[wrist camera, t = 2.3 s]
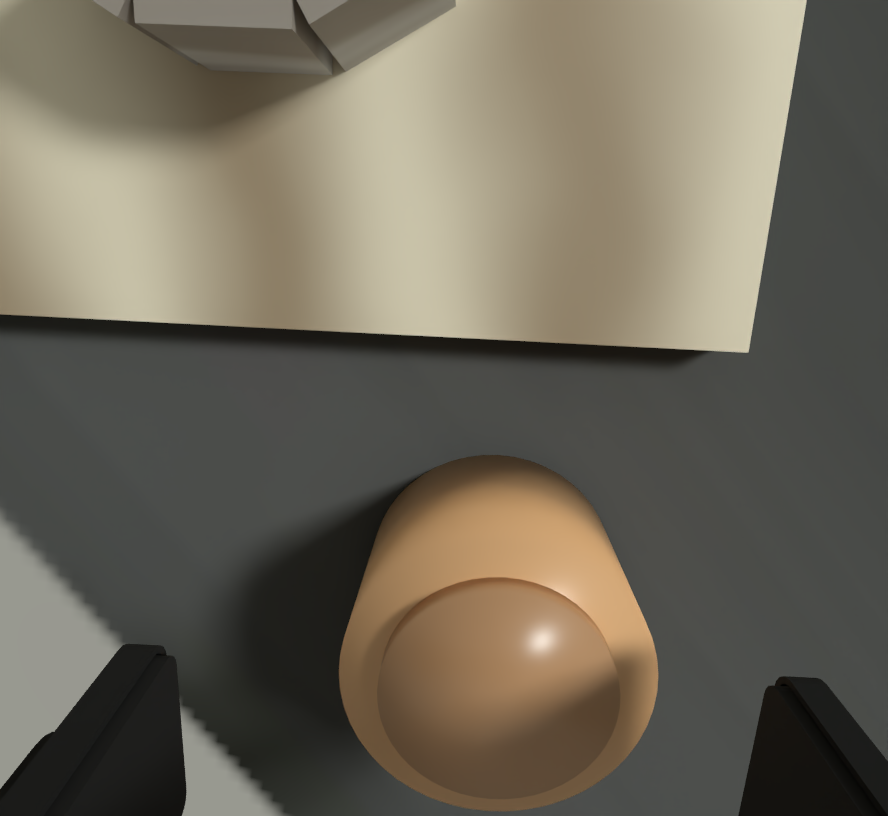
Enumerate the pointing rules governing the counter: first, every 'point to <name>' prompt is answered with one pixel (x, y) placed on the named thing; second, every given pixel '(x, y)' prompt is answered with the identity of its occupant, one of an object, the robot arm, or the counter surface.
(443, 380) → the counter surface
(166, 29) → the barrel mount
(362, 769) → the counter surface
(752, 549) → the counter surface
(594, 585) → the tan round jar
